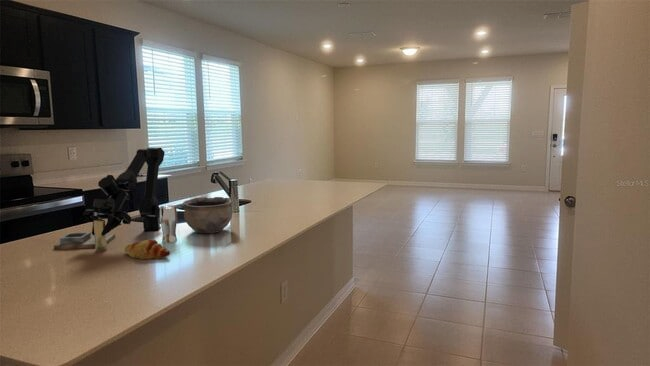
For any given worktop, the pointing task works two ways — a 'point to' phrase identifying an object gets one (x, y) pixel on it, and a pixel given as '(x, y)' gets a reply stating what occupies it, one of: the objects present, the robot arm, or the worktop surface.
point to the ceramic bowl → (208, 214)
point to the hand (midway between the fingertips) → (97, 234)
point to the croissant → (146, 250)
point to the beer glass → (168, 223)
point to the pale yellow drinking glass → (99, 236)
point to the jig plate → (79, 240)
